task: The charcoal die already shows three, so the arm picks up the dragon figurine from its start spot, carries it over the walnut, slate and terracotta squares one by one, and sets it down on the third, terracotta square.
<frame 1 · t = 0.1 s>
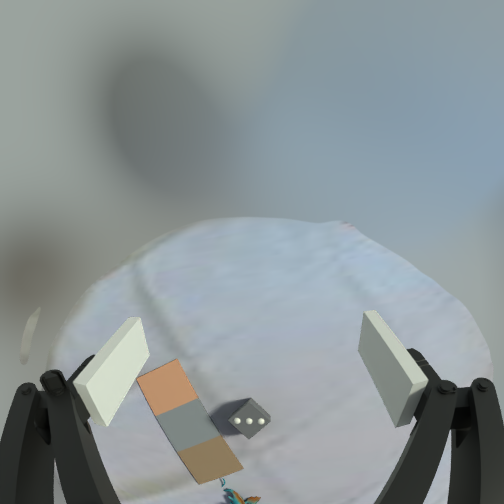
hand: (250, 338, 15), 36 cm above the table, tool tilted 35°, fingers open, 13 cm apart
dragon figurine: (238, 495, 38), on the table
die: (250, 415, 44), on the table
game board: (187, 425, 43), on the table
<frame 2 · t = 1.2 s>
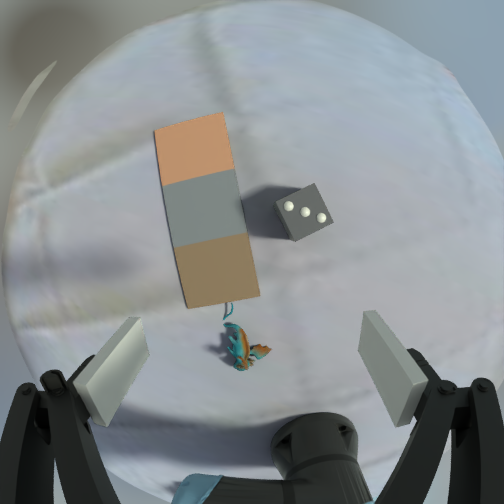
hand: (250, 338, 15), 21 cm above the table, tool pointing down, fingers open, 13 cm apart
dragon figurine: (241, 338, 38), on the table
die: (298, 214, 36), on the table
game board: (203, 208, 36), on the table
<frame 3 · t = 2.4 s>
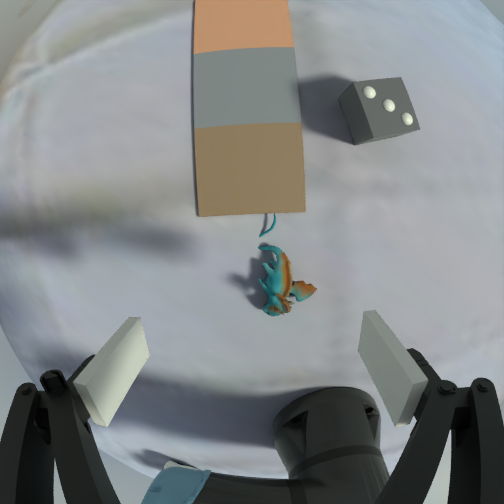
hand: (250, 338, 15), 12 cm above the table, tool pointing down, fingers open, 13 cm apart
duck figurine: (192, 470, 37), on the table
dragon figurine: (278, 269, 28), on the table
die: (368, 117, 23), on the table
game board: (245, 84, 23), on the table
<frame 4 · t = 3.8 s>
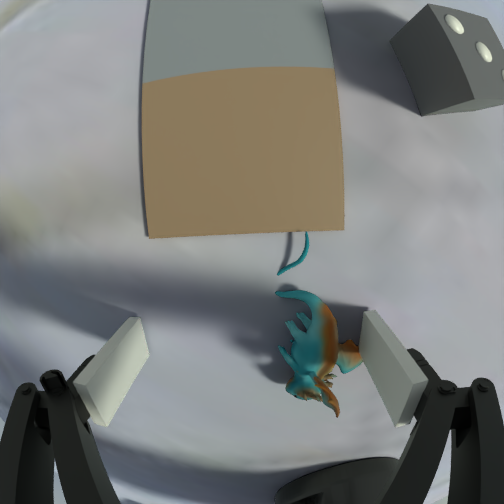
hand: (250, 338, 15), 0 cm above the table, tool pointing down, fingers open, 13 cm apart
dragon figurine: (310, 324, 16), on the table, touching gripper
die: (435, 76, 11), on the table
game board: (233, 11, 11), on the table
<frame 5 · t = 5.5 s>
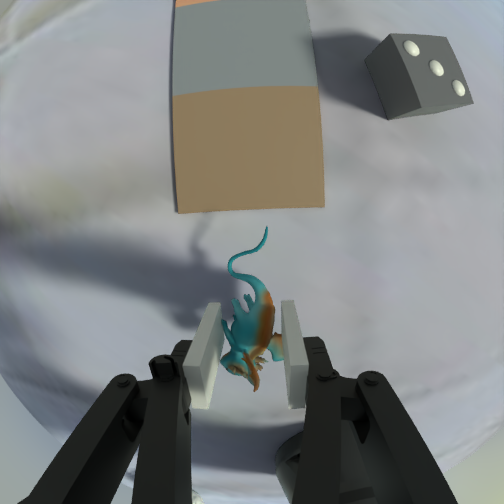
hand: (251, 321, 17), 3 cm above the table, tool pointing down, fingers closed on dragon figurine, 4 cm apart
duck figurine: (187, 490, 31), on the table
dragon figurine: (255, 308, 18), point 2 cm above the table, touching gripper
die: (402, 86, 16), on the table
game board: (241, 39, 15), on the table
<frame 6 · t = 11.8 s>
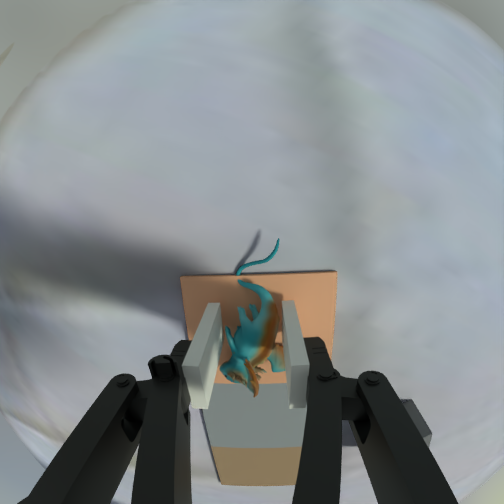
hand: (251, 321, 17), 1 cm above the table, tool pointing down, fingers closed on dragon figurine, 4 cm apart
dragon figurine: (258, 319, 18), on the table, touching game board, gripper
die: (387, 424, 20), on the table
game board: (263, 417, 20), on the table
when the fingers open (1 cm above the table, at t = 12.2 s): dragon figurine moves 1 cm, resting on game board.
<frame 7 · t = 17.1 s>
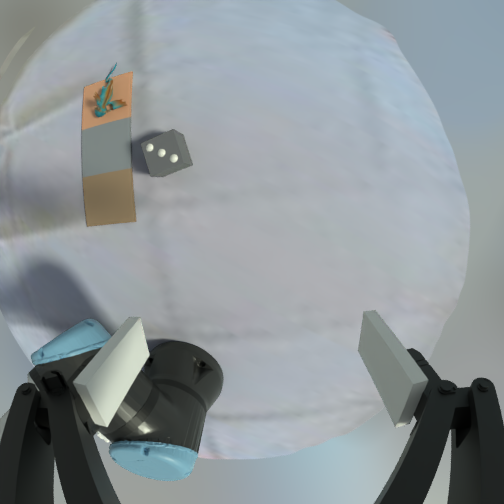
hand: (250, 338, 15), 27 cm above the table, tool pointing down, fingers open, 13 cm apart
dragon figurine: (112, 94, 36), resting on game board
die: (173, 155, 38), on the table
game board: (105, 147, 38), on the table
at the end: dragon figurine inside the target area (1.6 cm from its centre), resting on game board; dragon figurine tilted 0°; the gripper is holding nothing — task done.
